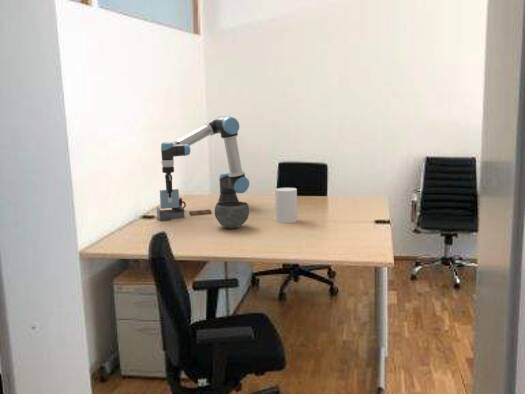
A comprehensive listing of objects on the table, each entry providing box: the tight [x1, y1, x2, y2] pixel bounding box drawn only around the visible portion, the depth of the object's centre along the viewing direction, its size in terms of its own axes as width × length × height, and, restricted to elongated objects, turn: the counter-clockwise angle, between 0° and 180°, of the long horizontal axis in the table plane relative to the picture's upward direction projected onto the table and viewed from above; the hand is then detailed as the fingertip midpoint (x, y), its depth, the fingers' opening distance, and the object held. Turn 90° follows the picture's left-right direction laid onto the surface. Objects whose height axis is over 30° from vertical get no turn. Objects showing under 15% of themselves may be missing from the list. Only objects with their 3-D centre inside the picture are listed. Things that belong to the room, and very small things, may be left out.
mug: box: [171, 196, 187, 209], centre depth 399 cm, size 10×8×10 cm
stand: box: [188, 209, 212, 217], centre depth 389 cm, size 14×7×3 cm, turn 108°
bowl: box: [214, 201, 250, 229], centre depth 351 cm, size 21×21×15 cm
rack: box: [156, 205, 185, 222], centre depth 382 cm, size 16×13×7 cm
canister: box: [274, 187, 298, 224], centre depth 365 cm, size 14×14×20 cm
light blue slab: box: [159, 188, 180, 210], centre depth 381 cm, size 12×2×12 cm, turn 108°
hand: (169, 201), depth 381 cm, fingers closed on light blue slab, 2 cm apart
